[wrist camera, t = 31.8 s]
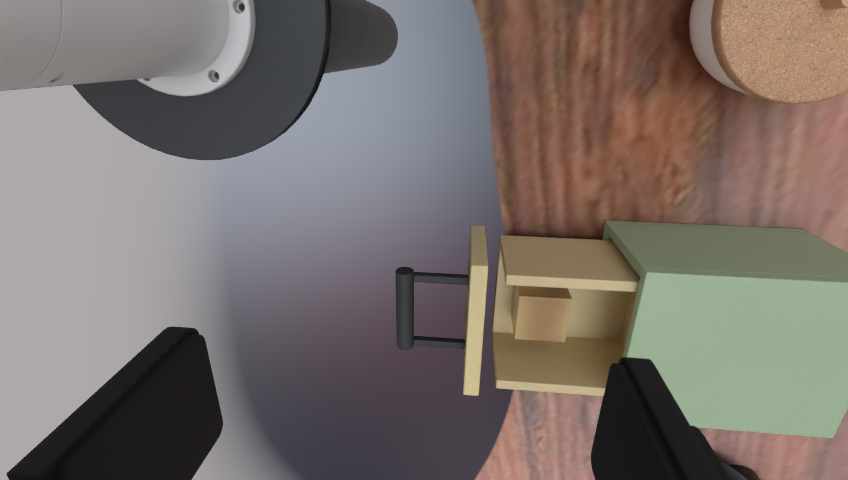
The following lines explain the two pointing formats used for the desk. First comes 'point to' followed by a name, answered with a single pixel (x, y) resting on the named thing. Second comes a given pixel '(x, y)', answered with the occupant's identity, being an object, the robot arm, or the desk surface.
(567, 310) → the block
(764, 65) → the trinket box
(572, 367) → the drawer
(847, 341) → the box
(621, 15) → the desk surface
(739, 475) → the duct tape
